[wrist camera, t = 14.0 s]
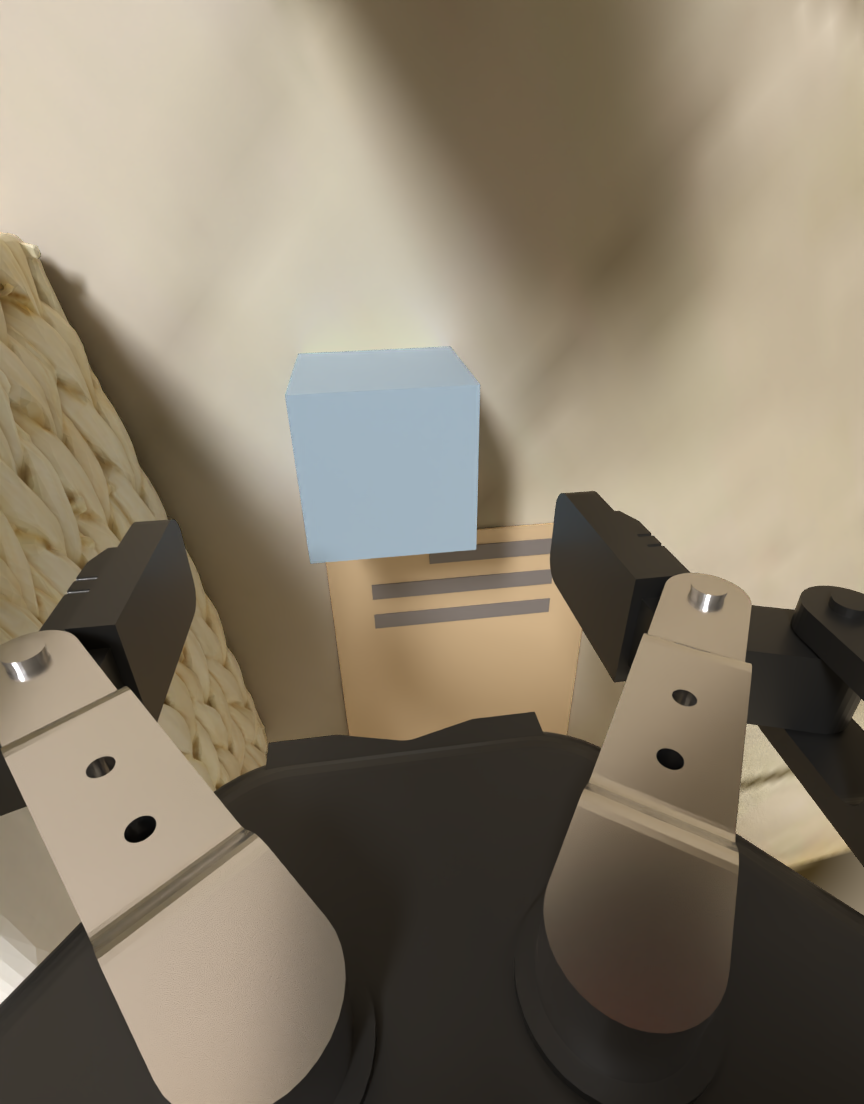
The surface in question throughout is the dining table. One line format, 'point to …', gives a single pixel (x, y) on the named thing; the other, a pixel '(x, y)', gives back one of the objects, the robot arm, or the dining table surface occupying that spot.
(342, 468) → the slate cube
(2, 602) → the storage basket
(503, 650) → the letter
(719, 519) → the dining table surface
